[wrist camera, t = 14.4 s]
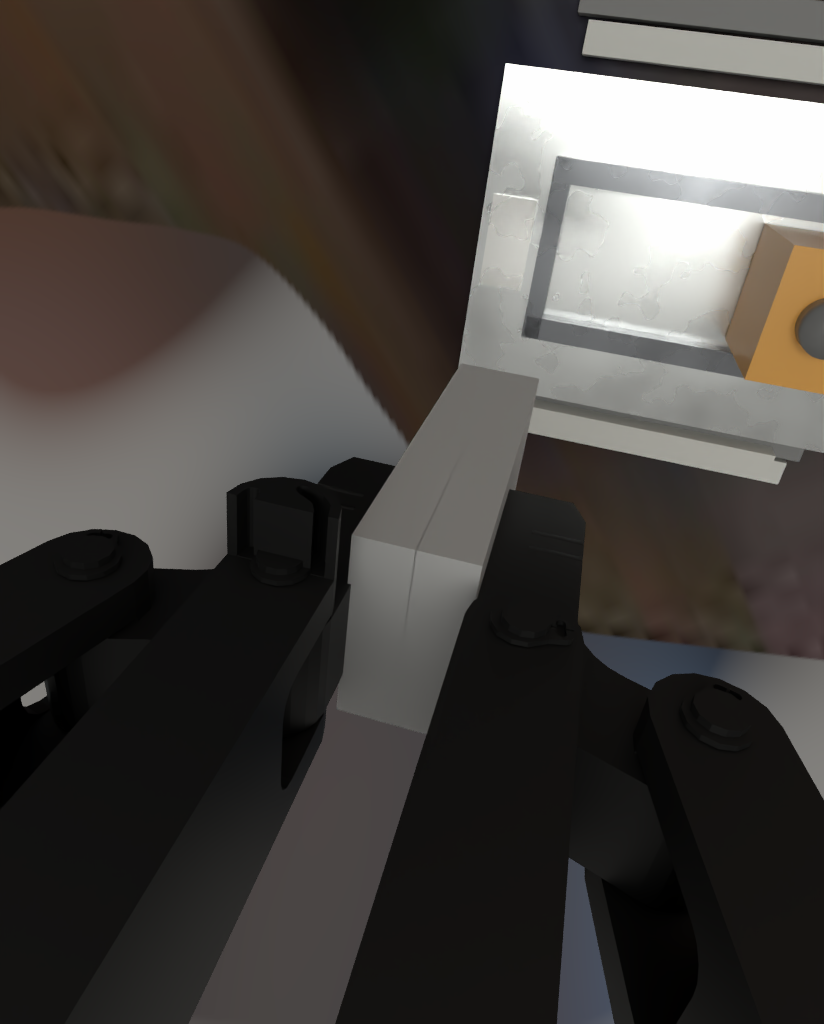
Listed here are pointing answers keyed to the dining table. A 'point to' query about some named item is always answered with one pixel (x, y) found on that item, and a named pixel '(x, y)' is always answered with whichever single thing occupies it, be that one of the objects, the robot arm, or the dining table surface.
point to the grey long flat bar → (712, 36)
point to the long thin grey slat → (662, 440)
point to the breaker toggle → (782, 311)
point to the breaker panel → (639, 245)
